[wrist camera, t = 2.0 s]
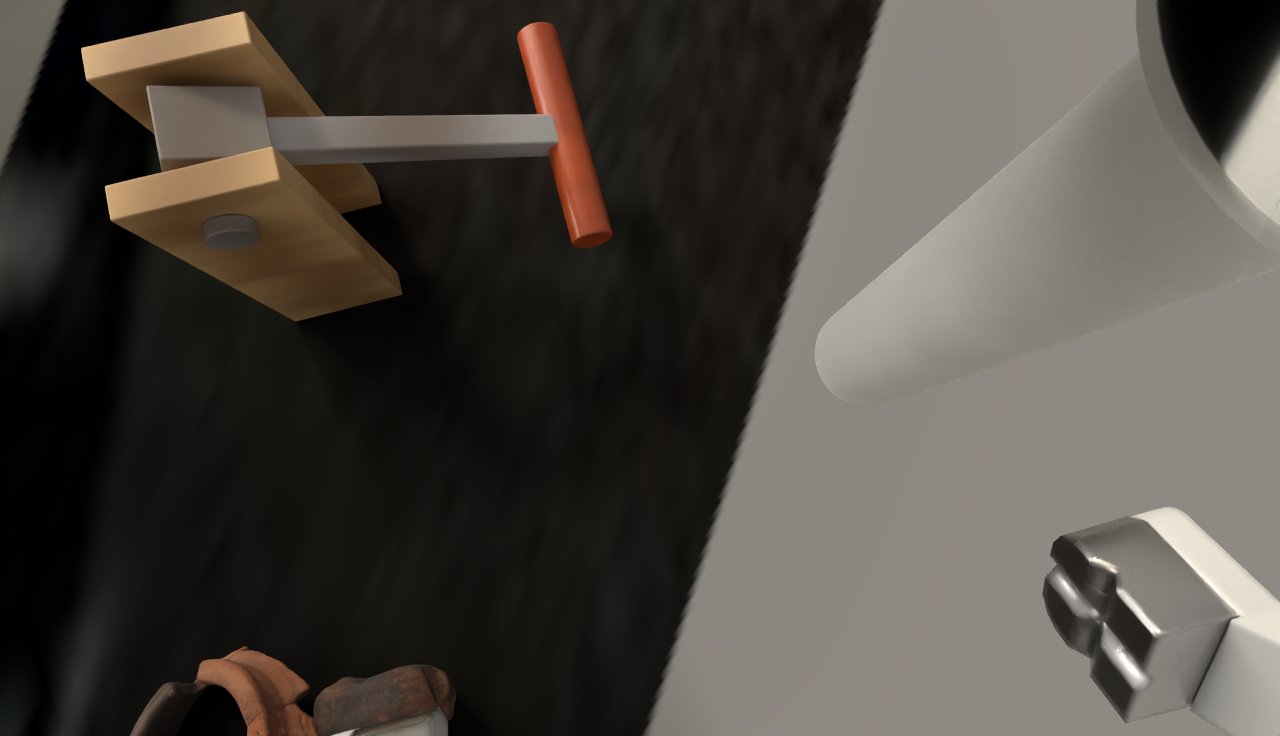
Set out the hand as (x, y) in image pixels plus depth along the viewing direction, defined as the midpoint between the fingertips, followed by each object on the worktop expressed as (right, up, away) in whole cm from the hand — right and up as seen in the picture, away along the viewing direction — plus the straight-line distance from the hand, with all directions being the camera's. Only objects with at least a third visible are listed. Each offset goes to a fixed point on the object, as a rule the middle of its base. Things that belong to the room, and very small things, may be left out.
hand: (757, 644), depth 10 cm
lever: (-10, +10, +16) cm, 21 cm away
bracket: (-14, +8, +24) cm, 29 cm away
